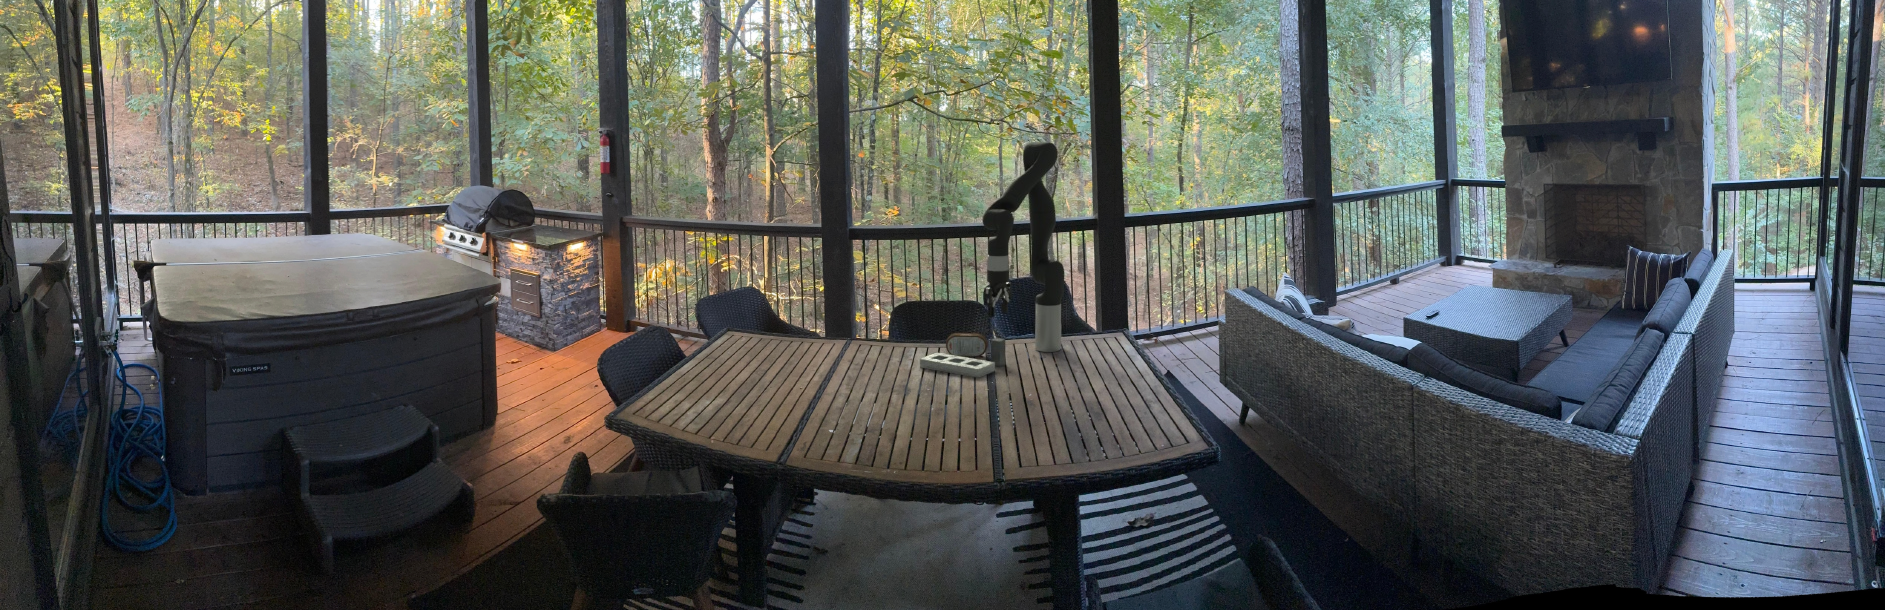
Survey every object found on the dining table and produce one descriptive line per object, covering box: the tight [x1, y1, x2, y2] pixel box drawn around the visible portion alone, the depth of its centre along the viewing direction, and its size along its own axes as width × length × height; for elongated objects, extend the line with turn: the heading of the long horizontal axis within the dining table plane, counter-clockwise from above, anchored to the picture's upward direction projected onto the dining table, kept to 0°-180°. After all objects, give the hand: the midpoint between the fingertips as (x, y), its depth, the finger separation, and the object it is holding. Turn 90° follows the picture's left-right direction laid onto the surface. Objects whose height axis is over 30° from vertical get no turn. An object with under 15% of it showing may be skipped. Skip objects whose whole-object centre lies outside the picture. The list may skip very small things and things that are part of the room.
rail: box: [919, 352, 996, 379], centre depth 308 cm, size 10×24×3 cm, turn 54°
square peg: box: [990, 337, 1006, 368], centre depth 312 cm, size 4×4×9 cm
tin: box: [945, 332, 989, 358], centre depth 324 cm, size 15×3×8 cm, turn 84°
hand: (998, 315), depth 309 cm, fingers open, 8 cm apart
